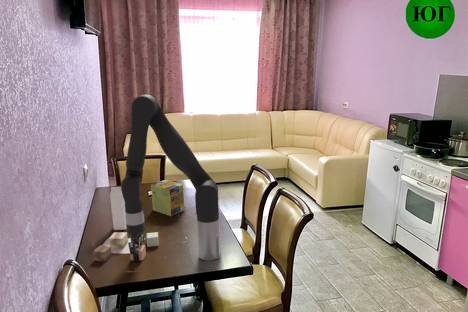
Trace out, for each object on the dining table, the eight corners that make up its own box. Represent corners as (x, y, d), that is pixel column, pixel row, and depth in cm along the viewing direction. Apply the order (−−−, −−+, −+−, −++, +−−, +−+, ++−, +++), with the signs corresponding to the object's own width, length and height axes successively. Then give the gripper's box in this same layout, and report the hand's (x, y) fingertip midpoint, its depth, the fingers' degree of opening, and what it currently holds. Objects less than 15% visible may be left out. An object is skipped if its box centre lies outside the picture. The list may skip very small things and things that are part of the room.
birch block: (128, 242, 169) (127, 232, 168) (123, 248, 164) (122, 238, 162) (115, 242, 170) (114, 232, 168) (110, 248, 164) (109, 238, 163)
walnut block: (111, 257, 158) (110, 246, 157) (105, 263, 153) (104, 252, 152) (101, 255, 159) (100, 245, 158) (94, 261, 155) (93, 251, 153)
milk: (116, 225, 188) (112, 185, 183) (128, 225, 189) (124, 184, 183) (113, 231, 182) (108, 189, 177) (126, 230, 183) (121, 188, 177)
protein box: (171, 216, 198) (169, 189, 194) (152, 210, 207) (150, 184, 203) (185, 210, 206) (183, 184, 202) (166, 204, 215) (164, 179, 211)
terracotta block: (146, 255, 159) (145, 245, 157) (142, 261, 154) (141, 251, 153) (134, 255, 159) (133, 245, 158) (131, 261, 154) (129, 250, 153)
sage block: (158, 241, 171) (157, 232, 169) (158, 246, 166) (158, 236, 165) (147, 243, 170) (146, 233, 168) (147, 248, 165) (146, 238, 164)
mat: (145, 239, 173) (145, 238, 173) (136, 254, 159) (136, 253, 159) (108, 239, 174) (108, 238, 174) (95, 254, 160) (95, 253, 160)
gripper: (138, 228, 145) (142, 266, 149) (148, 213, 159) (151, 249, 163) (120, 228, 145) (124, 266, 150) (131, 213, 159) (135, 249, 163)
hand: (138, 257), depth 156 cm, fingers open, 5 cm apart
